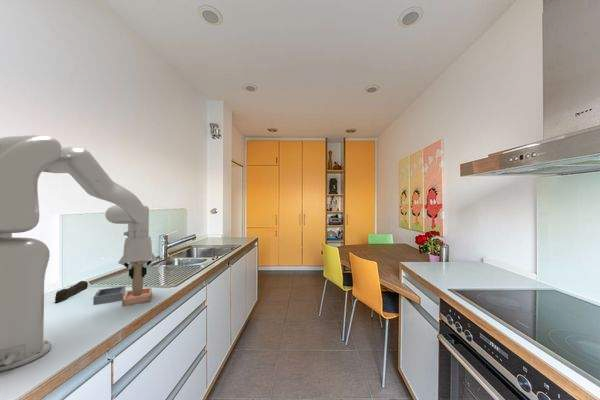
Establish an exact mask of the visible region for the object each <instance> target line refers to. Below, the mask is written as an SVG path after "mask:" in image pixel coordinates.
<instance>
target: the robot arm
mask: <svg viewBox="0 0 600 400" xmlns="http://www.w3.org/2000/svg"><path fill="white" fill-rule="evenodd" d="M42 173H49V174H68V175H70V176H71V177H72V179H74V181H75V182H76V183H77V184H78V185H79V186H80V187H81V189H82V190H84V191H85V192H86V194H87V195H89V196H91V197H94V198H96V199H98V200H102V201H106V202H109V203H113V204H114V205H112V206H110V207H108V208H107V210H105V214H104V215H105V219H106V220H107V221H108V222H109V223H111V224H116V225H117V224H118V225H127V231H124V232H123V236H126V237H125V238H124V239H125V240H124V245H123V252H122V253H123V255H122V257H120V259H119V261H118V264H119V265H122V266H124V267H125V268H127V269H128V278H129V277H130V279H131V280H132V278H133V265H132V264H131V262H138V261H146V263H145V264H143V272H142V277H143V278H145V277H146V275H147V274H148V273H147V272H148V269H147V268H148V267H149V266H150V265H151V264H152V263H153V262H155V261H156V260H157V257H156V256H155V254H154V253H153V245H152V242H153V241H152V239H151V236H149V234H150V230H149V229H150V208H149V207H148V206H147V205H144V204H143V202H142V201H141V200H140V199H139V198H138V196H137V195H135V194H134V193H133V192H131V190H129V189H126V188H125V187H124V186H122V185H120V184H119V183H118V182H115V181H114V180H113V179H112V178H111V177H110V175H109V174H108V173H107V172H106V171H105V170H104V168H103V167H102V166H101V165H100V163H99V161H97V159H96V158H95V157H94V156H93V154H92V153H91V152H90V151H88V150H87V149H86V148H83V147H78V146H65V147H63V146H62V143H60V141H59V140H57V139H56V138H54V137H52V136H49V135H41V134H39V135H38V134H36V135H35V134H31V135H28V134H27V135H17V136H16V135H14V136H4V137H0V372H3V371H7V370H11V369H14V368H18V367H20V366H23V365H26V364H28V363H31V362H34V361H35V360H37V359H39V358H40V357H43V356H44V355H45V354H46V353H48V352H49V351H50V350H51V348H52V342H51V341H50V340H46V339H44V329H45V328H44V326H45V325H44V324H45V322H44V321H45V315H44V314H45V279H46V272H47V268H48V264H49V261H50V254H51V253H50V249H49V247H48V245H47V244H45V242H43V241H41V240H40V239H36V238H32V237H18V236H15V237H13V234H20V233H25V232H29V231H31V230H33V229H35V228H36V227H37V226H38V224H39V223H40V206H39V205H40V204H39V191H38V187H39V186H38V181H39V179H40V176H41V174H42Z"/></svg>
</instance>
